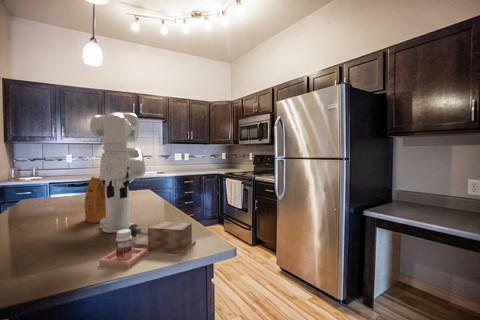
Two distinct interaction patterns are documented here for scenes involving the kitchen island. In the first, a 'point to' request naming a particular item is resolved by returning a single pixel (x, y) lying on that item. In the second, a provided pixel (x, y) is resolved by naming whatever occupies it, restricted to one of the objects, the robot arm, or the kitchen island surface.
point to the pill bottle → (124, 244)
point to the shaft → (138, 230)
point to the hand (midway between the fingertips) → (117, 197)
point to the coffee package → (95, 201)
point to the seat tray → (112, 261)
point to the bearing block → (167, 238)
